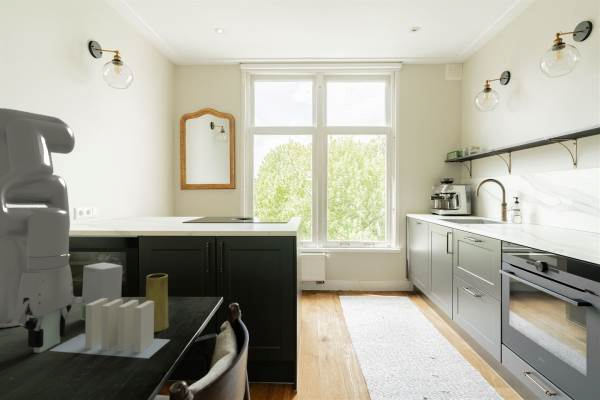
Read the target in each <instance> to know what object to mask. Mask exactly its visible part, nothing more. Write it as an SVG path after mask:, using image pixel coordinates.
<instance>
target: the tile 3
mask: <svg viewBox="0 0 600 400" xmlns="http://www.w3.org/2000/svg"><path fill="white" fill-rule="evenodd" d="M123 304H124V299H123V298H121V299H116V300H114V301H112V302H109V303H107V304H105V305H103V306H102V330H101V350H109V349H110V348H112V347H113V346H115V345H117V344H118V307H119V306H121V305H123Z"/></svg>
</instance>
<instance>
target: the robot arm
mask: <svg viewBox="0 0 600 400" xmlns="http://www.w3.org/2000/svg"><path fill="white" fill-rule="evenodd" d="M75 140H76V139H75V134H74V132H73V130H72V128H71V126H69V125H68V124H67V123H66V122H65V121H63V120H62V119H60V118H58V117H55V116H50V115H46V114H42V113H41V114H39V113H35V112H29V111H24V110H18V109H12V108H3V107H1V108H0V329H2V328H12V327H16V326H21V327H22V328H24V330H25V331H27V347H28V348H33V349H34V348H40V347H42V346H43V336H44V330H43V329H40V328H41V325H42V321H43V317H44V315H46V314H48V313H51V312H53V311H56V310H58V309H60V338H61V337H62V338H63V337H65V336H66V319H67V318H68V317H69V312H70V311H71V309H72V307H73V306H74V304H75V303H76V302H77V297H75V295H74V285H73V275H72V269H71V265H70V264H69V263H70V262H69V259H70V258H71V254H69V252H70V251H69V250H70V248H69V247H70V244H69V243H70V230H71V218H70V217H71V216H70V208H69V207H70V206H69V194H68V187H67V183H66V181H65V180H64V178H63V177H62V176H60V175H56V174H54V166H53V160H52V153H53V154H65V155H67V154H71V152H73V151H74V148H75V146H76V145H75V143H76V141H75ZM7 205H14V206H15V205H17V207H9V206H7ZM19 206H22V207H19ZM23 206H31V207H23ZM33 206H46V207H33ZM34 318H36V322H35V323H34Z"/></svg>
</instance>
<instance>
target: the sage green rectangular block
mask: <svg viewBox="0 0 600 400" xmlns="http://www.w3.org/2000/svg"><path fill="white" fill-rule="evenodd" d="M33 322H34V323H35V322H36V318H34V321H33ZM40 329H43V330H44V336H43V346H42V347H40V348H34V347H33V353H39V354H40V353H42V352H44V351H46V350H47V349H51V348H53V347H54V346H56V345H59V344H60V343H61V337H60V309H58V310H56V311H53V312H51V313H48V314H46V315H44V317H43V321H42V325H41V328H40Z"/></svg>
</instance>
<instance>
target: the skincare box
mask: <svg viewBox="0 0 600 400" xmlns="http://www.w3.org/2000/svg"><path fill="white" fill-rule="evenodd" d="M82 274H83V276H82V277H83V278H82V295H81V298H82V299H81V315H80V316H81V317H80V318H81V319H80V320H82V321H85V322H86V305H87V304H89V303H92V302H94V301H97V300H99V299H101V298H108V303H109V302H112V301H114V300H116V299H122V284H123V283H122V281H123V280H122V279H123V265H120V264H117V263H116V264H115V263H109V262H99V263H94V264H93V263H92V264H88V265H83V273H82Z"/></svg>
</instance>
